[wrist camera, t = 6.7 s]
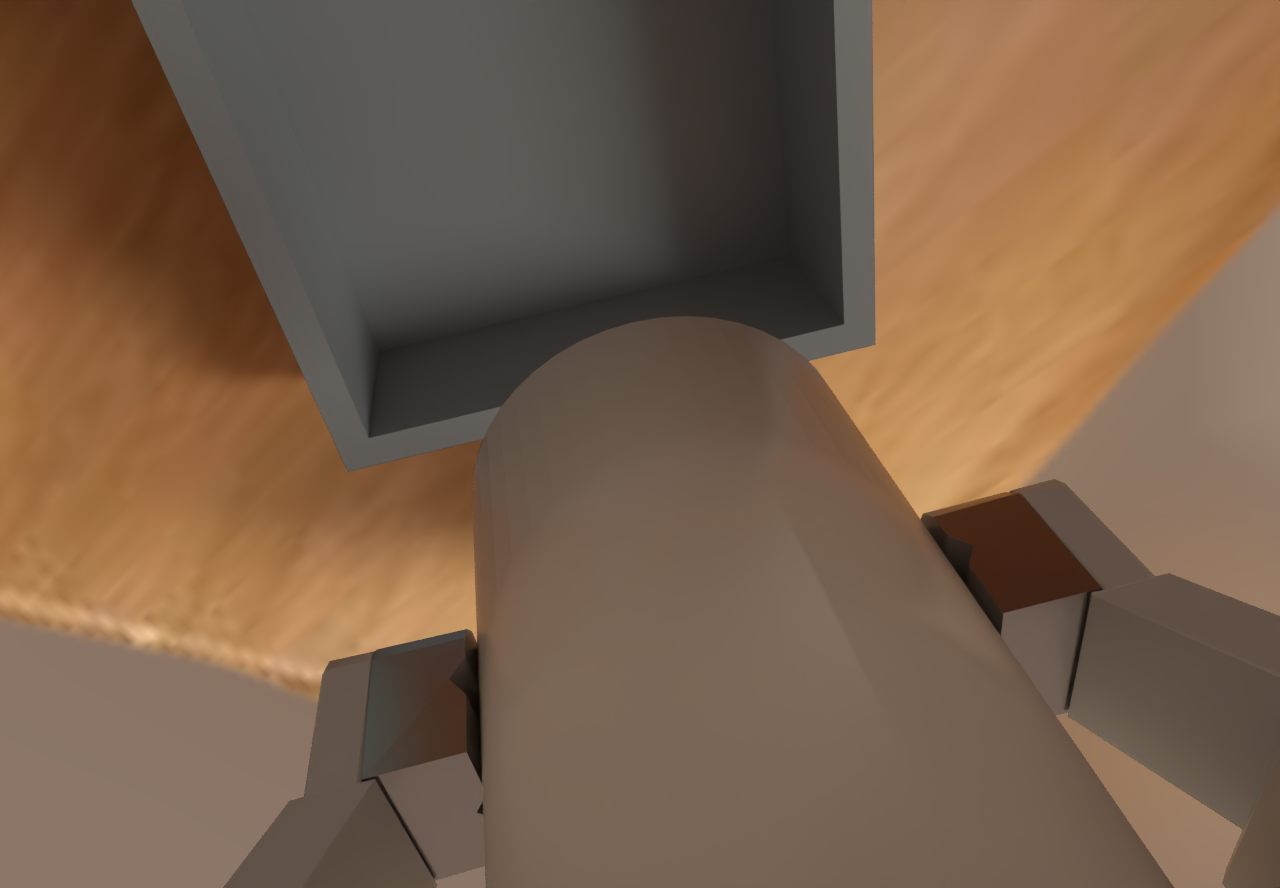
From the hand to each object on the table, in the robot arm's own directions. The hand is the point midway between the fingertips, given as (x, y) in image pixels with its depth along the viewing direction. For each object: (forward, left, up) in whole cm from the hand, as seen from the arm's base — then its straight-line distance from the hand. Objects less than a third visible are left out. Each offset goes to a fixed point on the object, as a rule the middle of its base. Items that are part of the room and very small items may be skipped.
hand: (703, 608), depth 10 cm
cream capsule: (0, 0, -2) cm, 2 cm away
